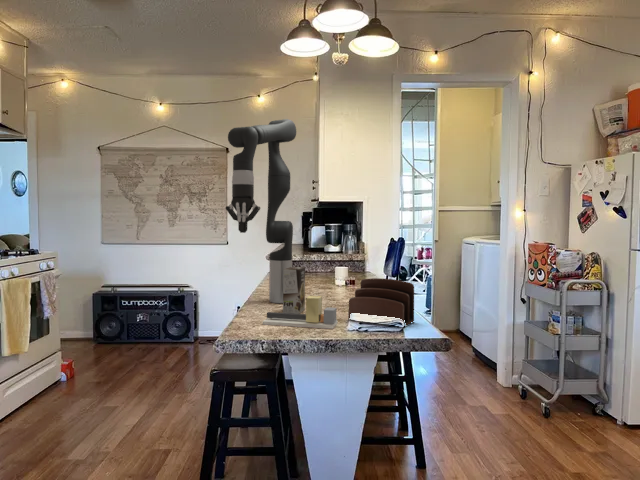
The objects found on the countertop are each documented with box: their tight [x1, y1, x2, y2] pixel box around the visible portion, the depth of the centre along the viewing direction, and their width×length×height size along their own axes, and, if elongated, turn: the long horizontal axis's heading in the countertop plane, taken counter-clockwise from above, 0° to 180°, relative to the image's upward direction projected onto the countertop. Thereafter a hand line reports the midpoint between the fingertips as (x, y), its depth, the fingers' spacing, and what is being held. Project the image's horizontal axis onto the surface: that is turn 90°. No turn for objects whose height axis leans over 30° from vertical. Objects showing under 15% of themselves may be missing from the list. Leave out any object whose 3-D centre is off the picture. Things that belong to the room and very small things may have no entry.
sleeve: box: [305, 295, 323, 323], centre depth 146 cm, size 5×4×8 cm
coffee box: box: [282, 266, 306, 314], centre depth 167 cm, size 9×6×16 cm
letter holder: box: [347, 277, 415, 326], centre depth 152 cm, size 10×20×14 cm, turn 58°
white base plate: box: [262, 307, 339, 330], centre depth 147 cm, size 8×23×5 cm, turn 77°
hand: (242, 232), depth 162 cm, fingers closed
